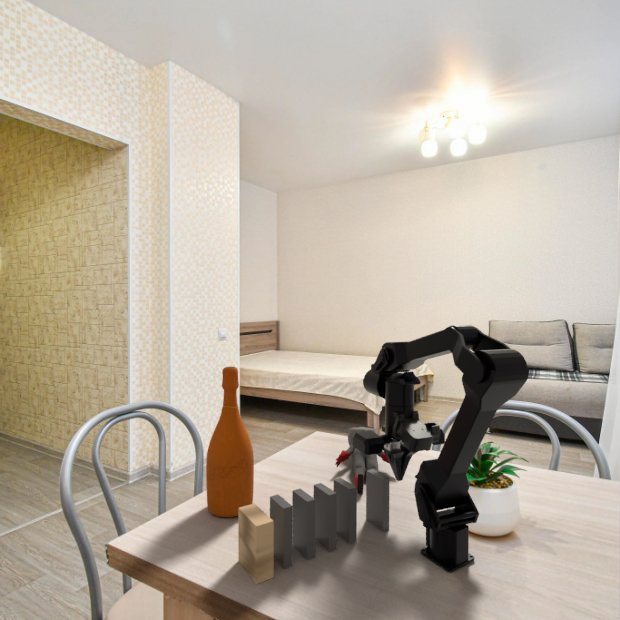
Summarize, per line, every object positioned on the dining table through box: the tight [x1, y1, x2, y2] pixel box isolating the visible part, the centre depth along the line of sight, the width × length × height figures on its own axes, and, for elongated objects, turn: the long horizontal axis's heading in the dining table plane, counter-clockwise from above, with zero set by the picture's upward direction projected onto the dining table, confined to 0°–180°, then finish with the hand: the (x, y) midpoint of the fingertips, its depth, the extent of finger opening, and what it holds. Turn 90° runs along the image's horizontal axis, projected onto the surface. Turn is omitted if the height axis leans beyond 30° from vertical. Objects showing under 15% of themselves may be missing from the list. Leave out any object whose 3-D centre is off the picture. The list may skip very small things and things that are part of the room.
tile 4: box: [291, 488, 316, 561], centre depth 74 cm, size 5×2×10 cm, turn 32°
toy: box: [335, 425, 390, 495], centre depth 112 cm, size 16×10×30 cm
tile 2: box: [333, 477, 358, 545], centre depth 79 cm, size 5×2×10 cm, turn 32°
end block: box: [237, 502, 275, 585], centre depth 69 cm, size 7×3×9 cm, turn 32°
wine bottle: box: [205, 366, 255, 518], centre depth 90 cm, size 10×10×30 cm
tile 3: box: [313, 482, 338, 553], centre depth 77 cm, size 5×2×10 cm, turn 32°
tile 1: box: [365, 469, 390, 532], centre depth 83 cm, size 5×2×10 cm, turn 31°
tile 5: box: [269, 494, 293, 570], centre depth 72 cm, size 5×2×10 cm, turn 32°
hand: (399, 480), depth 86 cm, fingers closed
